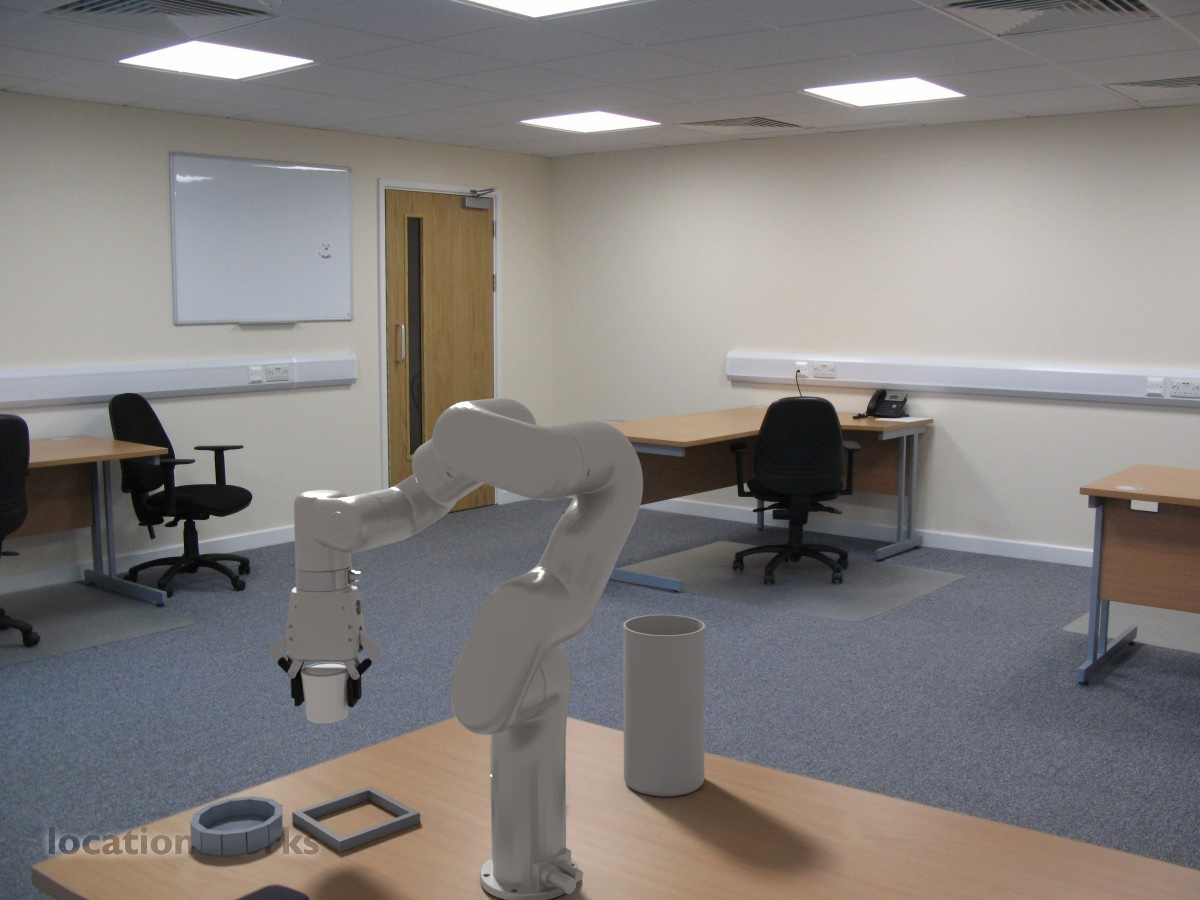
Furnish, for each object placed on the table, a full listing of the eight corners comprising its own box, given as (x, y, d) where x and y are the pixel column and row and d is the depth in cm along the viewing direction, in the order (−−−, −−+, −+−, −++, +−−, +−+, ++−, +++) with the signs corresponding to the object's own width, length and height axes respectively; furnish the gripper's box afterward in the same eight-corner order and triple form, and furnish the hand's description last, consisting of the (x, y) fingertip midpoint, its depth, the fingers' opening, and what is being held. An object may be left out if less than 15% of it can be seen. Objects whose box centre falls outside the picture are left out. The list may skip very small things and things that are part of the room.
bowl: (298, 835, 154) (297, 815, 154) (216, 864, 146) (215, 842, 146) (258, 809, 163) (257, 789, 163) (177, 835, 155) (176, 814, 154)
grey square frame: (420, 822, 158) (420, 812, 158) (340, 852, 149) (339, 841, 149) (370, 795, 168) (370, 786, 168) (292, 822, 159) (292, 812, 159)
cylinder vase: (661, 805, 164) (661, 640, 161) (607, 779, 173) (606, 623, 171) (721, 784, 171) (722, 626, 169) (666, 760, 181) (666, 610, 179)
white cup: (359, 709, 159) (358, 662, 158) (342, 726, 152) (341, 676, 152) (313, 707, 160) (311, 660, 159) (294, 724, 153) (293, 674, 152)
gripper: (391, 574, 157) (393, 696, 159) (271, 572, 158) (274, 694, 160) (379, 586, 150) (381, 714, 152) (252, 584, 151) (256, 711, 153)
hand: (326, 702), depth 156 cm, fingers closed on white cup, 6 cm apart
